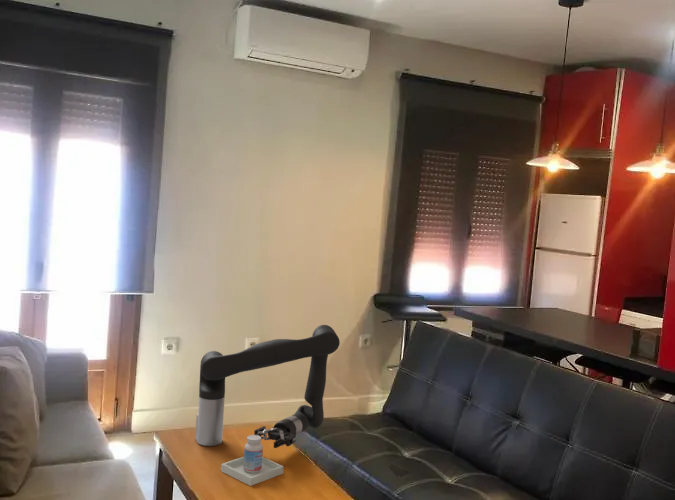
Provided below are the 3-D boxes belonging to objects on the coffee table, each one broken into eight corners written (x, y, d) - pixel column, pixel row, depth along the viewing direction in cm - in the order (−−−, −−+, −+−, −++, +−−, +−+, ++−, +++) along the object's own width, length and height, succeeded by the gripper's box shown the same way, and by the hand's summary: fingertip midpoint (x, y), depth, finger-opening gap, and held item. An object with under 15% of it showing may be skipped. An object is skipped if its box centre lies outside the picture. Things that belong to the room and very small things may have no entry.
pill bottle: (258, 474, 229) (260, 441, 228) (240, 472, 230) (242, 439, 229) (264, 467, 235) (265, 435, 234) (246, 465, 236) (248, 433, 235)
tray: (221, 471, 232) (221, 463, 232) (253, 459, 243) (254, 453, 243) (250, 485, 222) (250, 478, 222) (283, 473, 233) (283, 466, 233)
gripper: (271, 414, 255) (247, 427, 240) (305, 422, 249) (282, 436, 234) (270, 434, 256) (245, 448, 241) (304, 443, 250) (281, 458, 235)
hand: (263, 442), depth 238 cm, fingers open, 8 cm apart
